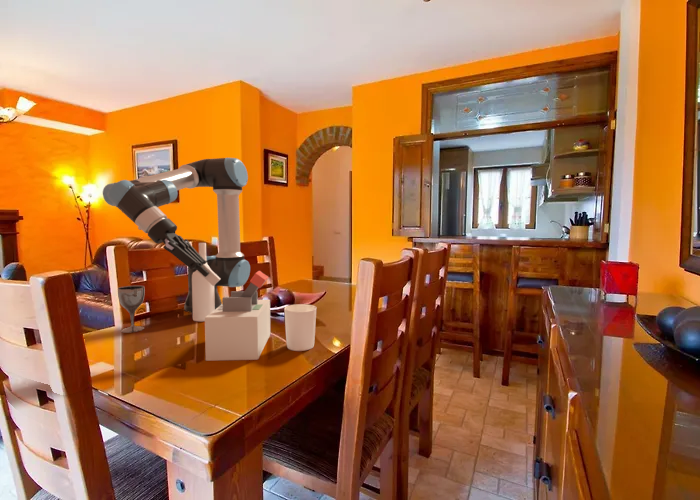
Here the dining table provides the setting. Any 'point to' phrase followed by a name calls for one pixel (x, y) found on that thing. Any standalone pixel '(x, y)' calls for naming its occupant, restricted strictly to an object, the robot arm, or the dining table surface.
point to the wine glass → (131, 303)
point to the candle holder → (300, 326)
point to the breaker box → (237, 328)
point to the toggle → (255, 284)
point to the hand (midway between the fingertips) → (216, 282)
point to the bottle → (202, 292)
